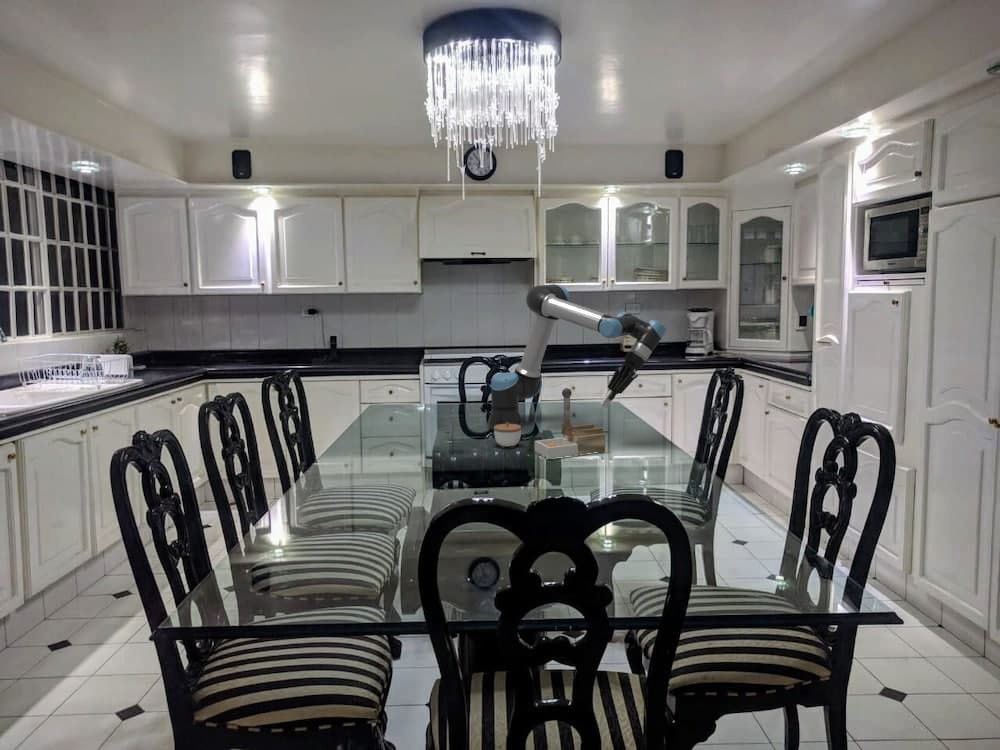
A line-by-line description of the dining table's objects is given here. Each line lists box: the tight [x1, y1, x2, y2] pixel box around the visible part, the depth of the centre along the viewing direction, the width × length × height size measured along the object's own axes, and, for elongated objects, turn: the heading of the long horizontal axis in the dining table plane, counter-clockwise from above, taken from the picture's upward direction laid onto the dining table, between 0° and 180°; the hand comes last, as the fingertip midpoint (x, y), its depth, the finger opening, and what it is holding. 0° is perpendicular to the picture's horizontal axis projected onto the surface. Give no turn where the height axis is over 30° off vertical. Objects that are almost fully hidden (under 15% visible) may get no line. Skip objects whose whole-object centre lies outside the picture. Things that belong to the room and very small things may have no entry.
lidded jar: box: [493, 422, 522, 447], centre depth 286 cm, size 11×11×9 cm
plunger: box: [561, 387, 573, 436], centre depth 273 cm, size 5×4×18 cm
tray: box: [534, 437, 578, 458], centre depth 273 cm, size 12×12×4 cm
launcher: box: [562, 423, 606, 456], centre depth 277 cm, size 11×12×9 cm
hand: (603, 405), depth 282 cm, fingers closed
